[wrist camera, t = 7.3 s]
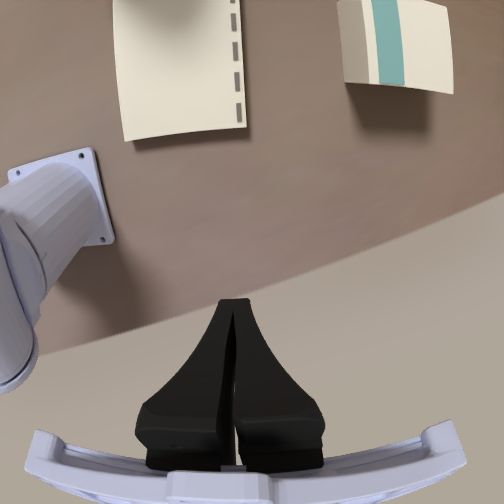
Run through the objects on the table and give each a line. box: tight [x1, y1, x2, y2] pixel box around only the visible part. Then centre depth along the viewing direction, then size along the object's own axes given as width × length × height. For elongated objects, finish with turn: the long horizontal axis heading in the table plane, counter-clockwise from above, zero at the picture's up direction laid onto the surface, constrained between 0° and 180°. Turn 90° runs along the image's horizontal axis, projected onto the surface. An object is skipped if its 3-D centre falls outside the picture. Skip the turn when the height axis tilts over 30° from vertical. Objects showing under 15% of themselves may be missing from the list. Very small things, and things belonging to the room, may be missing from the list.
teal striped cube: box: [336, 0, 453, 94], centre depth 13 cm, size 6×6×5 cm
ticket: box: [113, 0, 246, 142], centre depth 15 cm, size 8×12×1 cm, turn 3°
